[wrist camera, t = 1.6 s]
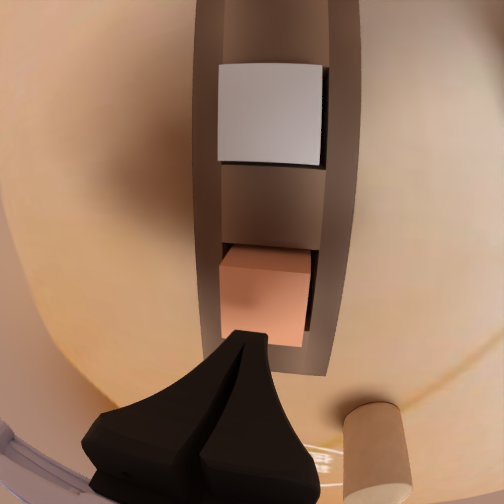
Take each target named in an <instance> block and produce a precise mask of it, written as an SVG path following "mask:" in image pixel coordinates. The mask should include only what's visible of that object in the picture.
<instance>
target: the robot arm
mask: <svg viewBox="0 0 504 504" xmlns="http://www.w3.org/2000/svg"><path fill="white" fill-rule="evenodd" d="M267 352H268V335H267V334H266V333H261V332H252V331H244V330H236V329H235V330H234V331H232V332H231V334H230V335H229V336H228V337H227V338H226V339H225V340H224V341H223V342H222V343H221V344H220V345H219V347H218V348H217V349H216V350H214V351H213V352H212V353H211V354H210V355H209V356H208V357H207V358H206V359H205V360H204V361H203V362H202V363H200V364H199V365H198V366H197V367H196V368H194V369H193V370H192V371H191V372H189V373H188V374H187V375H185V376H184V377H183V378H181V379H180V380H178V381H177V382H175V383H174V384H172V385H170V386H169V387H167V388H165V389H163V390H162V391H160V392H158V393H156V394H154V395H152V396H150V397H148V398H146V399H144V400H141V401H139V402H136V403H134V404H131V405H128V406H126V407H122V408H119V409H116V410H112V411H109V412H105V413H101V414H100V415H99V417H98V418H97V419H96V420H95V421H94V423H93V424H92V426H91V427H90V429H89V430H88V432H87V433H86V435H85V436H84V438H83V439H82V441H81V445H82V448H83V450H84V452H85V453H86V455H87V456H88V457H89V459H90V460H91V462H92V463H93V465H94V466H95V467H96V469H97V471H96V472H95V474H94V476H93V477H92V479H89V478H87V477H85V476H83V475H81V474H79V473H77V472H75V471H73V470H71V469H69V468H68V467H66V466H64V465H62V464H60V463H59V462H57V461H55V460H53V459H52V458H50V457H48V456H46V455H45V454H43V453H42V452H40V451H39V450H37V449H35V448H33V447H32V446H31V445H29V444H27V443H26V442H24V441H23V440H22V439H20V438H19V437H17V436H16V435H15V434H14V432H13V430H12V429H11V428H10V427H9V425H8V424H7V423H6V422H5V421H3V420H2V419H1V418H0V484H1V485H2V486H3V487H4V488H6V489H7V490H8V491H9V492H10V493H12V494H13V495H14V496H15V497H17V498H18V499H19V500H21V501H22V502H23V503H25V504H316V502H317V501H318V499H319V497H320V481H319V477H318V473H317V469H316V466H315V463H314V460H313V458H312V457H311V455H310V454H309V453H308V451H307V450H306V448H305V447H304V446H303V444H302V443H301V441H300V440H299V438H298V436H297V435H296V433H295V431H294V430H293V428H292V426H291V424H290V422H289V420H288V418H287V416H286V414H285V412H284V410H283V408H282V405H281V403H280V400H279V398H278V395H277V392H276V389H275V386H274V383H273V379H272V375H271V371H270V366H269V361H268V353H267Z"/></svg>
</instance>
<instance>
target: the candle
mask: <svg viewBox="0 0 504 504" xmlns="http://www.w3.org/2000/svg"><path fill="white" fill-rule="evenodd" d="M343 444H344V480H343V503H344V504H401V503H402V502H403V501H404V500H405V499H406V498H407V497H408V496H409V495H410V494H411V492H412V491H413V485H412V477H411V470H410V463H409V457H408V451H407V445H406V439H405V433H404V428H403V423H402V418H401V414H400V411H399V409H398V408H397V407H396V406H394V405H392V404H390V403H384V402H376V403H370V404H366V405H363V406H360V407H358V408H356V409H354V410H353V411H352V412H350V413H349V414H348V415H347V417H346V418H345V420H344V425H343Z"/></svg>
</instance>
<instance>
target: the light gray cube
mask: <svg viewBox="0 0 504 504" xmlns="http://www.w3.org/2000/svg"><path fill="white" fill-rule="evenodd" d="M321 113H322V65H312V64H290V63H245V64H223V65H219V83H218V161H254V162H277V163H295V164H310V165H319V162H320V141H321Z"/></svg>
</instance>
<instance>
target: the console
mask: <svg viewBox="0 0 504 504" xmlns="http://www.w3.org/2000/svg"><path fill="white" fill-rule="evenodd" d="M245 63H290V64H312V65H322V79H323V80H326V81H325V125H324V149H323V163H319V165H310V164H295V163H277V162H254V161H218V83H219V65H223V64H245ZM360 116H361V38H360V17H359V2H358V0H197V3H196V18H195V36H194V60H193V98H192V167H193V207H194V232H195V253H196V270H197V286H198V300H199V313H200V325H201V336H202V347H203V357H204V360H205V359H206V358H207V357H208V356H209V355H210V354H211V353H212V352H213V351H214V350H216V349H217V348H218V347H219V345H220V344H221V343H222V342H223V341H224V340H225V339H226V338H222V333H221V308H220V279H219V265H220V264H221V262H222V261H223V259H224V258H225V256H226V255H227V253H228V252H229V250H230V249H231V247H232V246H233V244H234V243H238V244H250V245H263V246H275V247H287V248H299V249H312V250H316V256H315V265H314V275H313V284H312V292H311V300H310V301H307V310H306V318H305V325H304V333H303V340H302V347H295V346H284V345H275V344H268V352H267V353H268V361H269V366H270V371H272V372H281V373H291V374H302V375H314V376H326V373H327V369H328V364H329V360H330V355H331V351H332V346H333V341H334V336H335V331H336V326H337V321H338V315H339V310H340V304H341V299H342V293H343V287H344V280H345V274H346V267H347V261H348V254H349V246H350V239H351V231H352V222H353V213H354V204H355V194H356V182H357V170H358V156H359V139H360Z"/></svg>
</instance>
